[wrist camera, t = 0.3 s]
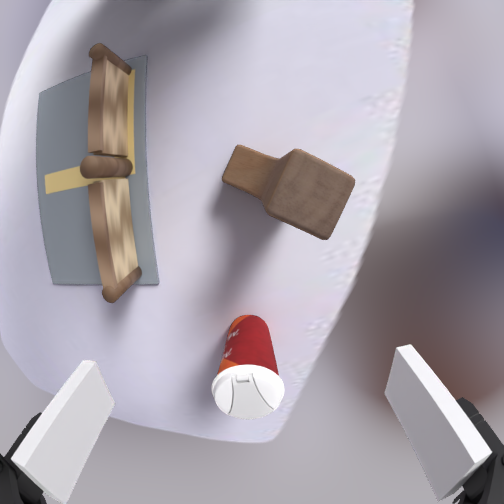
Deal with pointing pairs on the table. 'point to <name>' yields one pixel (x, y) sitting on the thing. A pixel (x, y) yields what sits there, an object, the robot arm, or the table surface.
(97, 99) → the fence fixed
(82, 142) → the card
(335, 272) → the table surface
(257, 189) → the wooden block
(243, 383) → the paper cup
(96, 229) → the fence gate
